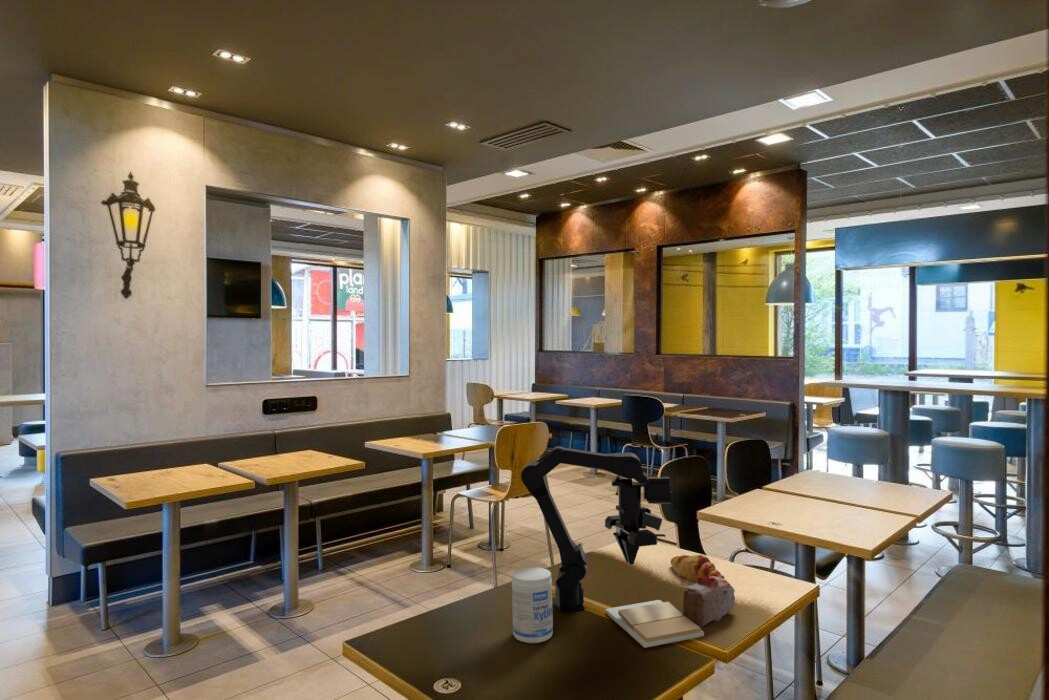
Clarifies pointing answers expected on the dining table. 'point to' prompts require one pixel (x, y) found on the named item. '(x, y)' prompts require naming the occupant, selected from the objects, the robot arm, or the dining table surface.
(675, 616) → the click plank
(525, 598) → the supplement tub
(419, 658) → the dining table surface
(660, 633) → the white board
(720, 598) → the food item
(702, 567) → the croissant
